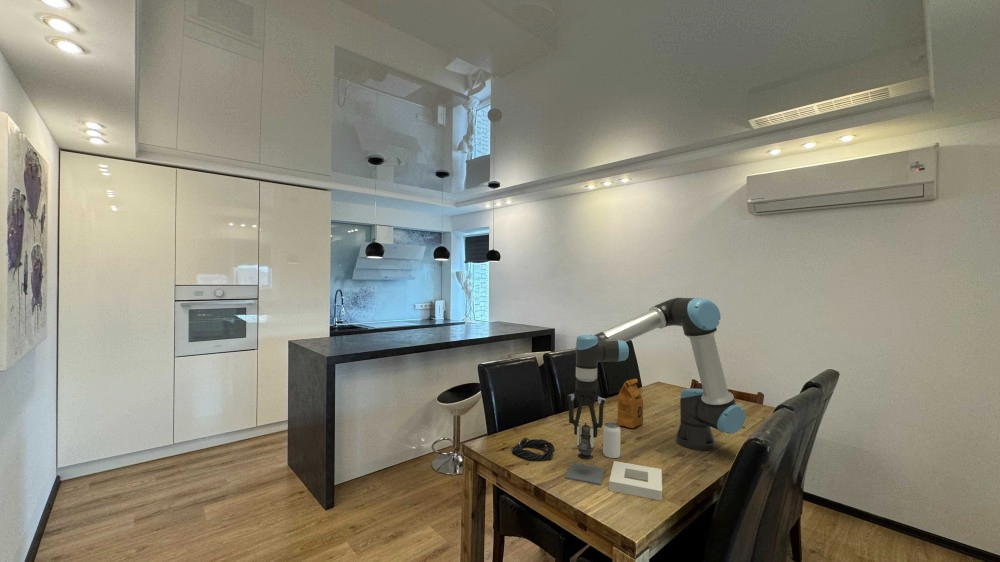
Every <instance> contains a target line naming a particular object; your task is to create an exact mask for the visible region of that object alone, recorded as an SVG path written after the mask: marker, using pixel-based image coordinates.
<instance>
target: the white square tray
mask: <svg viewBox="0 0 1000 562" xmlns="http://www.w3.org/2000/svg"><path fill="white" fill-rule="evenodd" d="M662 473H663V472H662V468H657V467H651V466H647V465H646V466H645V465H639V464H633V463H630V462H629V463H628V462H622V461H617V460H613V464H612V467H611V471H610V476H609V480H608V482H609V483H608V484H609V485H608V490H609V491H612V492H616V493H619V494H620V493H622V494H626V495H631V496H635V497H641V498H647V499H651V500H654V501H655V500H656V501H661V502H663V478H662V477H663V476H662Z"/></svg>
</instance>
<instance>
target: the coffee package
mask: <svg viewBox="0 0 1000 562" xmlns="http://www.w3.org/2000/svg"><path fill="white" fill-rule="evenodd" d="M638 382H639V381H638V379H637V378H632V379H629V380H626V381H624V383H623V385H622V386H621V388H620V390H619V392H618V398H617V424H618V425H619V427H626V428H628V429H634V428H636V427H638V426H641V425H642V424H644V399H643V396H642V395H641V392H640V390H639V389H638V385H637V383H638Z"/></svg>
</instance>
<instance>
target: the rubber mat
mask: <svg viewBox="0 0 1000 562" xmlns="http://www.w3.org/2000/svg"><path fill="white" fill-rule="evenodd" d="M605 469H606V468H605V467H599V466H594V465H589V464H588V465H587V464H583V463H577V462H571V464H570V466H569V467H568V469H567V472H566V473H565V477H564V479H567V480H570V481H576V482H581V483H586V484H590V485H597V486H602V481H603V478H604V475H605V472H606V470H605Z"/></svg>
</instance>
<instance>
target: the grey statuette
mask: <svg viewBox="0 0 1000 562" xmlns="http://www.w3.org/2000/svg"><path fill="white" fill-rule="evenodd" d="M580 436H581V438H580V445H577V444H576V448H577V450H578V452H579V453H578V454H577V457H578V458H579V459H580V460H582V461H583V460H584V461H591V460H592V459H594V456H593V455H592V453H593V452H594V449H595V447H594V446H595V445H594V446H593V448H591V427H590V426H589V425H588V424H587V422H585V423H584V425H581V435H580Z"/></svg>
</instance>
